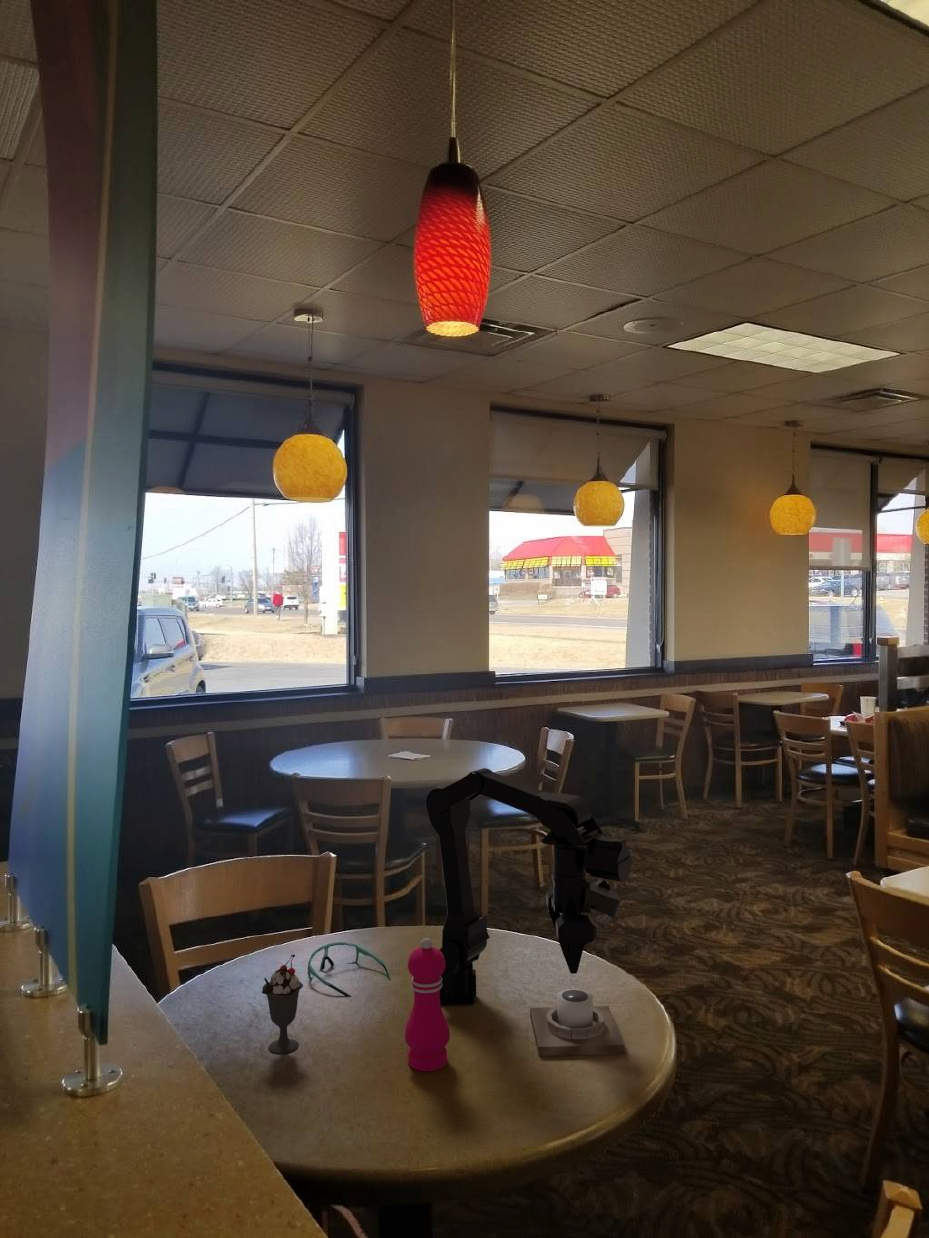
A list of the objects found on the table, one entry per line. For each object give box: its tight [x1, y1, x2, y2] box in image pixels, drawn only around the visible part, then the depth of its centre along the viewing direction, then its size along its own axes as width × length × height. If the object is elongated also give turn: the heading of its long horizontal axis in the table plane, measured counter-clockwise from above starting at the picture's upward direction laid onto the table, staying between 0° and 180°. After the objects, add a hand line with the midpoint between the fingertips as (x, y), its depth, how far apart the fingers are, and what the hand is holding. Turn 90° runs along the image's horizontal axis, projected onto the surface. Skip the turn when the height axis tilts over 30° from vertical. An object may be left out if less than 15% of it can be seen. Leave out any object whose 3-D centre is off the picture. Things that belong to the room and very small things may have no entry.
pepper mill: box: [404, 937, 451, 1072], centre depth 144 cm, size 7×7×20 cm
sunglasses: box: [307, 941, 392, 998], centre depth 177 cm, size 14×15×5 cm
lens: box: [556, 988, 594, 1028], centre depth 153 cm, size 6×6×5 cm
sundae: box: [261, 954, 304, 1055], centre depth 150 cm, size 7×7×15 cm
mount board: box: [529, 1005, 626, 1057], centre depth 153 cm, size 14×14×3 cm
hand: (569, 962), depth 154 cm, fingers open, 9 cm apart
